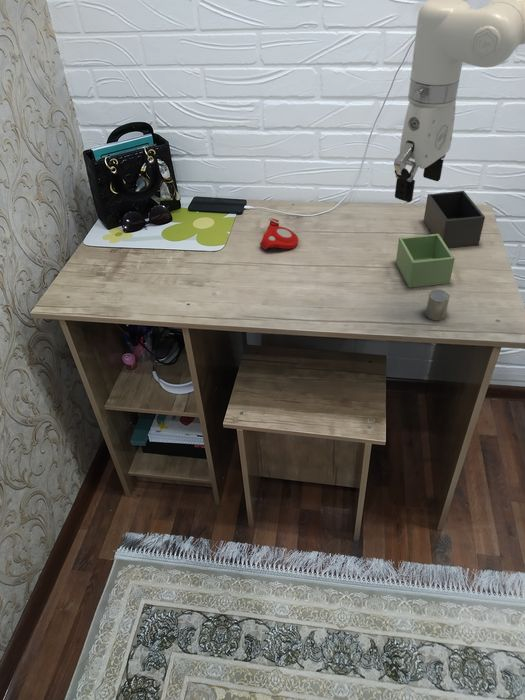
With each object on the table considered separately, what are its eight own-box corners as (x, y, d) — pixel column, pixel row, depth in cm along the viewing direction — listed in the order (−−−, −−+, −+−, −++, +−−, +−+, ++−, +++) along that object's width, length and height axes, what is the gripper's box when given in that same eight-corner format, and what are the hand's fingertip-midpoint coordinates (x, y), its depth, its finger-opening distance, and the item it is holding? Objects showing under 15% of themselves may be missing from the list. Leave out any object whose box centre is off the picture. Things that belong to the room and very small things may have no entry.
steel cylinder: (448, 319, 117) (452, 300, 114) (429, 321, 117) (432, 302, 114) (441, 307, 120) (445, 288, 117) (423, 309, 120) (426, 290, 117)
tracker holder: (307, 238, 141) (278, 246, 134) (301, 253, 144) (273, 261, 137) (276, 211, 146) (247, 217, 140) (271, 225, 149) (242, 232, 142)
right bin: (478, 245, 137) (485, 216, 132) (441, 249, 136) (446, 221, 131) (458, 217, 146) (463, 190, 141) (423, 221, 146) (427, 194, 141)
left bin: (449, 283, 126) (454, 258, 122) (408, 287, 126) (412, 262, 121) (434, 258, 134) (438, 233, 129) (395, 262, 133) (398, 237, 129)
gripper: (426, 111, 84) (410, 214, 96) (479, 79, 94) (459, 177, 105) (382, 101, 88) (373, 201, 100) (438, 71, 97) (423, 166, 109)
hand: (417, 189), depth 103 cm, fingers open, 9 cm apart
